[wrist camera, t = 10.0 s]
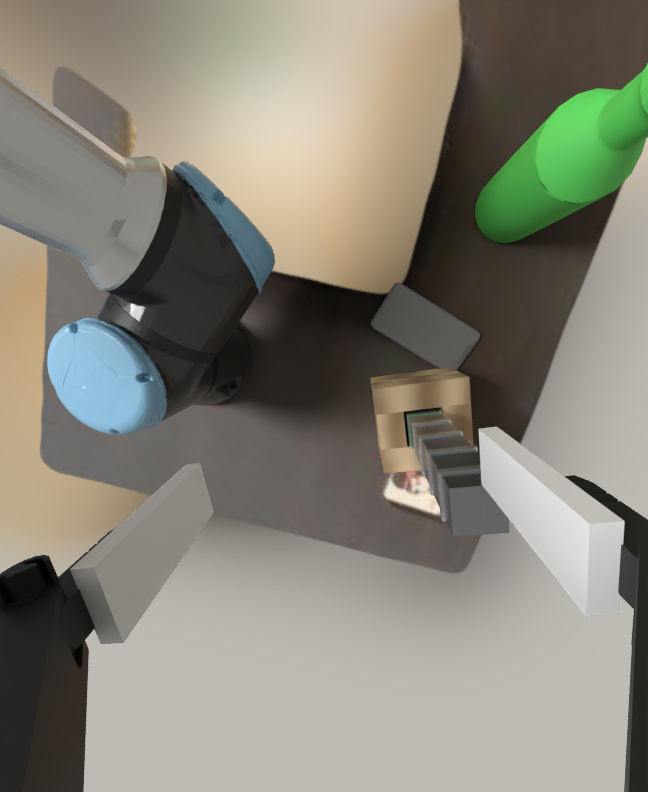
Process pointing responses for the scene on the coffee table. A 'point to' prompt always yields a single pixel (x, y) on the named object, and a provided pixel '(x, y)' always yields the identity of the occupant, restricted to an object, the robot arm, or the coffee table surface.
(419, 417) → the column
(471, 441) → the housing
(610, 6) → the coffee table surface
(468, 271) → the coffee table surface
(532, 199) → the bottle
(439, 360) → the smartphone
